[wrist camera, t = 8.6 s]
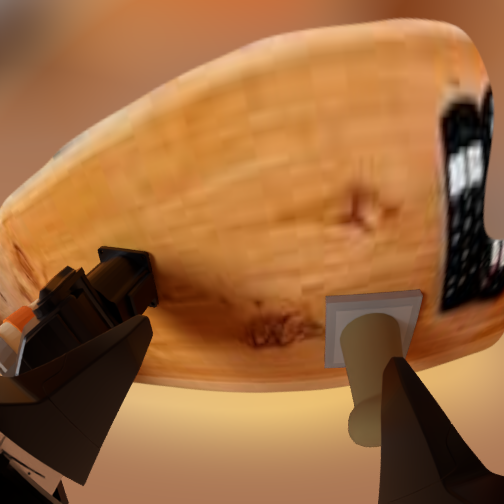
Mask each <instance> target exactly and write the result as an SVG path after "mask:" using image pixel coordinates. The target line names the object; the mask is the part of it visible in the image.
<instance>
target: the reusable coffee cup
mask: <svg viewBox="0 0 504 504" xmlns="http://www.w3.org/2000/svg"><path fill="white" fill-rule="evenodd" d="M38 300H39V299H37V300H36V301H34V302H33V303H31V304H30V305H29V306H22V307H21V308H20V309H18V310H17V311H15V312H14V313H13V314H11V315H10V316H8V317H7V318H6V319H4V321H3V324H2V325H1V326H0V373H1V374H2V375H4V374H5V373H6V371H7V370H8V369H9V368H10V367H11V366H12V365H13V364H14V363H15V362H16V358H17V353H18V348H19V343H20V339H21V335H22V331H23V328H24V326H25V325H26V324H27V323H28V322H29V321H30V320H31V319H32V318H33V317H34V316H35V314H34V313H33V312H32V309H33V308H34V306H35V305H36V302H37V301H38Z"/></svg>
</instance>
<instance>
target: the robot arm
mask: <svg viewBox="0 0 504 504" xmlns="http://www.w3.org/2000/svg"><path fill="white" fill-rule="evenodd" d="M98 254H99V258H100V263H99V264H98V265H97V266H96V267H95V268H93V269H92V270H91V271H90V272H89V273H88V274H87V275H85V272H84V270H83V268H82V267H81V268H79V269H77V270H74V269H72V268H71V267H69V266H67V267H65V268H64V269H63V270H61V271H60V272H59V273H58V274H57V275H55V276H54V277H53V278H52V279H51V280H50V281H49V282H48V283H47V284H46V285H45V286H44V287H43V288H42V289H41V290H40V294H39V300H38V301H37V302H36V305H35V306H34V308H33V309H32V312H33V313H34V314H35V316H34V317H33V318H32V319H31V320H30V321H29V322H28V323H27V324H26V325H25V326H24V328H23V331H22V335H21V339H20V343H19V348H18V353H17V358H16V362H15V363H14V364H13V365H12V366H11V367H10V368H9V369H8V370H7V371H6V373H5V374H4V375H3V376H0V504H68V503H69V502H68V499H67V496H66V493H65V490H64V487H63V484H62V481H61V478H62V476H65V477H67V478H69V479H71V480H73V481H74V482H76V483H78V484H80V485H82V486H84V484H85V483H86V480H87V478H88V476H89V473H90V471H91V469H92V466H93V464H94V462H95V460H96V457H97V455H98V453H99V451H100V448H101V446H102V444H103V442H104V440H105V438H106V436H107V434H108V431H109V429H110V427H111V425H112V423H113V421H114V419H115V417H116V415H117V413H118V411H119V409H120V407H121V405H122V403H123V401H124V399H125V397H126V395H127V393H128V391H129V389H130V387H131V385H132V383H133V381H134V379H135V377H136V375H137V373H138V371H139V369H140V367H141V364H142V362H143V359H144V357H145V354H146V352H147V349H148V346H149V344H150V341H151V339H152V336H153V331H152V327H151V324H150V320H149V318H148V317H147V316H144V315H142V314H143V313H144V311H145V310H146V309H147V307H148V306H150V307H157V305H158V304H159V303H158V298H157V292H156V287H155V282H154V277H153V274H152V270H151V264H150V259H149V255H148V254H147V253H146V252H143V251H135V250H127V249H120V248H112V247H104V246H101V247H100V248H99V249H98ZM143 256H144V257H145V258H144V257H143ZM153 302H154V303H153ZM378 504H504V476H501V475H498V474H495V473H492V472H490V471H489V470H488V469H487V468H486V467H485V466H484V465H483V464H482V463H481V461H480V460H479V459H478V457H477V456H476V455H475V454H474V453H473V451H472V450H471V449H470V448H469V446H468V445H467V444H466V443H465V441H464V440H463V439H462V437H461V436H460V435H459V433H458V432H457V430H456V429H455V427H454V426H453V424H451V422H450V420H449V419H448V417H447V416H446V414H445V413H444V411H443V410H442V409H441V407H440V406H439V405H438V403H437V402H436V400H435V399H434V397H433V396H432V395H431V394H430V392H429V391H428V389H427V388H426V386H425V385H424V384H423V383H422V381H421V380H420V378H419V377H418V376H417V374H416V373H415V372H414V370H413V369H412V368H411V366H410V365H409V364H408V363H407V361H406V360H405V359H404V358H403V357H402V356H392V357H391V358H390V360H389V362H388V364H387V365H386V367H385V369H384V371H383V375H382V397H381V470H380V488H379V500H378Z"/></svg>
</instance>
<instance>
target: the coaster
mask: <svg viewBox="0 0 504 504" xmlns="http://www.w3.org/2000/svg"><path fill="white" fill-rule="evenodd" d="M422 298H423V295H422V293H421V291H420V290H409V291H398V292H385V293H372V294H357V295H340V296H326V332H325V368H341V367H346V366H345V362H344V358H343V353H342V349H341V345H340V336H341V333H342V330H343V329H344V328H345V327H346V325H347V324H348V323H350V322H351V321H353V320H354V319H355V318H358V317H360V316H362V315H365V314H370V313H385V314H387V315H390V316H392V317H393V318H394V319H395V320H396V321H397V322H398V324H399V327H400V333H401V342H402V351H403V358H404V359H405V358H406V355H407V352H408V349H409V345H410V342H411V339H412V336H413V332H414V329H415V325H416V322H417V318H418V314H419V310H420V306H421V302H422Z"/></svg>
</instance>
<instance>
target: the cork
mask: <svg viewBox="0 0 504 504" xmlns="http://www.w3.org/2000/svg"><path fill="white" fill-rule="evenodd" d="M340 345H341V349H342V353H343V358H344V362H345V366H346V370H347V374H348V379H349V383H350V388H351V392H352V397H353V402H354V409H353V410H352V412H351V413H350V416H349V420H348V431H349V435H350V437H351V439H352V440H353V441H354V442H355V443H356V444H358V445H361V446H364V447H379V446H381V397H382V375H383V371H384V369H385V367H386V365H387V364H388V362H389V360H390V358H391V357H392V356H402V357H403V351H402V342H401V333H400V327H399V324H398V322H397V321H396V320H395V319H394V318H393V317H392V316H390V315H387V314H385V313H370V314H365V315H362V316H360V317H358V318H355V319H354V320H353V321H351V322H350V323H348V324H347V325H346V327H345V328H344V329H343V330H342V333H341V336H340Z"/></svg>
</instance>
